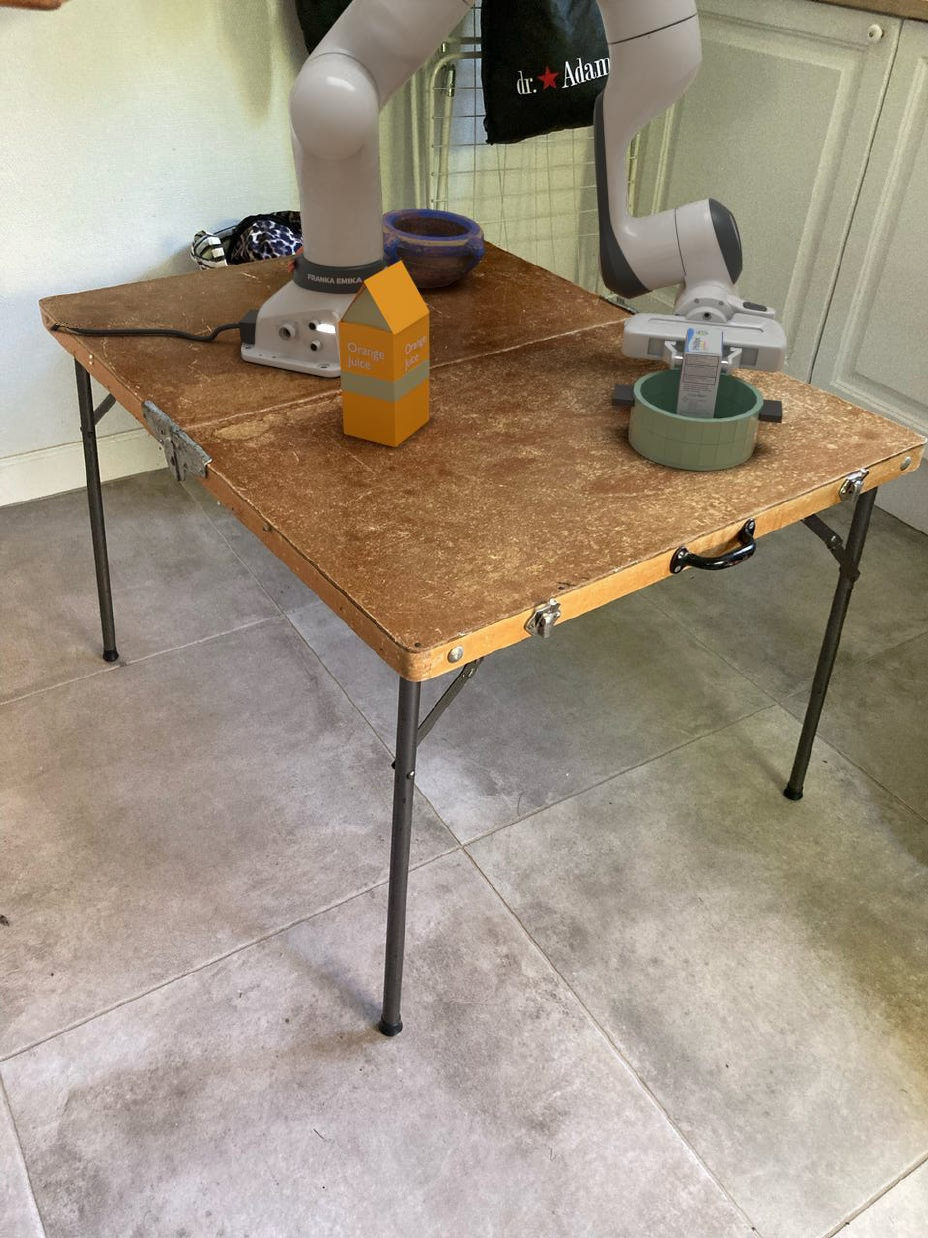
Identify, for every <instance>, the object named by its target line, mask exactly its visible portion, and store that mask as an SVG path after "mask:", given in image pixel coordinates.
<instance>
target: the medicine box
mask: <svg viewBox="0 0 928 1238" xmlns="http://www.w3.org/2000/svg"><path fill="white" fill-rule="evenodd" d="M722 353H723V331H721V330H713V329H703V328H689V329H688V330H687V335H686V341H685V348H684V357H683V363H682V371H681V377H680V385H679V395H678V406H677V414H676V415H681V416H685V417H692V418H701V419H713V414H714V407H715V401H716V395H717V388H718V382H719V375H720V369H721V363H722Z"/></svg>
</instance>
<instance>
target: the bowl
mask: <svg viewBox="0 0 928 1238" xmlns="http://www.w3.org/2000/svg"><path fill="white" fill-rule="evenodd" d="M484 242H485V233H484V230H483V228H482V227H481V226H480V225H479V223H478V222H476V221H475V220H473V219H471V218H469V217H468V216H466V215H462V214H458V213H454V212H451V211H446V210H441V209H431V208H403V209H391V210H388V211H387V212H384V213H383V248H384V252H385V253H386V255H387V266H388V267H390V266H392V265H393V264H395V263H397V262H399V261H402V263H403V264H404V266H405V268H406V270H407V272H408V273H409V275H410V277H411V279H412V281H413V282H414V284H415V286H416V288H417V289H418V288H419V289H434V288H441V287H445V286H448V285H451V284H452V283H454V281H456V280H457V279H459V278H461V277H463V276H465V275H467V274H469V273H470V272H472V271H473V270H474V269H475V268H476V267H477V266H478V264H480V263H481V261H482V260H483V258H484V256H485V253H486V248H485V245H484Z"/></svg>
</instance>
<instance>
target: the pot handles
mask: <svg viewBox="0 0 928 1238" xmlns="http://www.w3.org/2000/svg"><path fill="white" fill-rule="evenodd" d="M633 390H634V385H630V384H621V383H616V384H615V386H614V390H613V392H612V393H613V394H612V398H611V406H612V407H613V406H614V407H623V408H630V409H631V408H633V402H634V398H633ZM783 417H784V416H783V401H782V400H774V399H766V398H763V408H762V411H761V413H760V417H759V421H760V422H766V423H772V424H773V423H774V424H782V421H783Z"/></svg>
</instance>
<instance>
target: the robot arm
mask: <svg viewBox="0 0 928 1238" xmlns="http://www.w3.org/2000/svg"><path fill="white" fill-rule="evenodd" d="M477 1H478V0H352V1H351V2H350V3H349V4H348V6H347V7H346V9H344V11H343V12H342V13H341V14H340V16H339V17H338V19H337V20H336V21H335V22H334V23H333V25H332V27H331V28H330V29H329V30H328V32H327V33H326V34H325V35H324V37H323V38H322V39H321V40H320V42H319V43H318V44H317V46H316V47H315V48H314V50H313V51H312V52H311V53H310V55H308V58H307V59H306V60H305V62H304V63H303V64H302V66H301V69H300V71H299V73H298V74H297V76H296V78H295V80H294V82H293V84H292V86H291V89H290V91H289V95H288V99H287V113H288V123H289V131H290V132H289V134H290V142H291V149H292V157H293V163H294V164H293V165H294V171H295V176H296V177H295V179H296V184H297V190H298V197H299V198H298V199H299V211H300V225H301V226H300V227H301V228H300V229H301V240H302V241H301V242H302V245H301V246H300V248H298V249H297V250H296V252H295V255H293V257H291V258H290V262H289V263H288V264H287V268H288V269H287V274H291V277H292V279H291V280H290V281H288V282H287V283H286V284H285V285H283V286H282V287H281V288H280V289H278V290H277V291H275V293H273V294H272V295H271V296H270V297H269V298H268V299H267V300H266V301H264V302H263V304H262V305H261V306H260V308H259V309H255V308H254V309H252V308H250V309H249V310H248V311H247V312H246V313H245V315H243V316H242V318H241V319H240V320H239V321H238V322H236V323H227V324H222V325H220V326H218V327H216V328H214V330H213V331H212V332H211V334H210V335H206V336H199V335H195V334H191V333H189V332H186V331H182V330H177V329H168V328H167V329H166V328H116V329H115V328H113V329H109V328H107V329H96V328H95V329H93V328H91V329H90V328H82V327H79V328H81V329H79V328H69V327H65V326H60V325H56V324H57V323H58V322H55V323H54V324H53V325H52V326H51V328H50V329H49V330H50V331H51V332H53V331H54V332H55V331H57V330H58V329H59V328H65V329H68V330H70V331H73V332H75V333H78V334H81V335H91V336H113V335H116V336H117V335H167V336H168V335H169V336H177V337H181V338H184V339H188V340H191V341H194V342H201V343H207V342H211V341H214V340H215V339H216V338H217V337H218V335H219V334H220V333H222V332H224V331H228V330H237V329H239V338H240V343H242V344H241V347H240V357H241V358H242V360H243V361H245V362H250V363H254V364H259V365H264V366H269V367H274V368H279V369H284V370H289V371H294V372H299V373H304V374H310V375H315V376H319V377H324V378H336V377H341V375H340V370H341V367H340V348H339V329H338V322H339V321H340V320H341V318H342V317H343V315H344V314H345V312H346V311H347V309H348V307H349V306H350V304H351V303H352V301H353V300H354V298H355V296H356V295H357V293H358V292H359V290H360V289H361V287H362V285H363V284H364V281H365V280H366V279H368V278H370V277H372V276H374V275H375V274H377V273H379V272H381V271H383V270H384V269H386V268H388V266H387V255H386V253H385V252H384V248H383V215H384V213H383V191H382V176H381V174H382V173H381V152H380V150H381V149H380V127H379V126H380V125H379V123H380V122H379V118H380V115H381V113H382V112H383V110H384V109H385V107H386V106H388V104H389V103H390V102H391V101H392V99H393V98H395V96H396V95H397V94H398V93H399V92H400V90H401V89H403V87H404V86H405V85H406V84H407V83H408V82H409V81H410V80H411V78H413V76H414V75H415V74H416V73H417V72H418V71H419V70H421V68H422V67H423V66H424V65H425V64H427V62H428V61H430V59H431V58H432V57H433V55H434V54H435V53H436V52H437V51H438V49H439V48H440V47H441V45H442V44H444V42H445V41H446V40H447V38H448V37H449V36H450V35H451V34H452V32H453V31H454V29H456V27H457V26H458V24H459V23H461V21H462V19H463V18H464V17H465V16H466V14H468V12H469V11H470V9H471V8H472V7H473V6H474V5H475V3H477ZM595 2H596V4H597V7H598V10H599V12H600V15H601V20H602V24H603V28H604V34H605V39H606V43H607V48H608V55H609V68H608V75H607V80H606V83H605V87H604V88H603V89H602V90H601V92H599V94H598V95H597V96H596V98H595V101H594V102H595V103H594V108H593V118H592V119H593V123H592V124H593V127H592V128H593V129H592V130H593V153H594V155H593V156H594V166H595V167H594V171H595V184H596V185H595V187H596V199H597V201H596V202H597V216H598V217H597V218H598V239H599V240H598V250H597V264H598V271H599V275H600V277H601V279H602V282H603V285H604V287H605V288H606V289H607V290H609V291H610V292H612V293H614V295H617V296H619V297H621V298H624V299H626V300H632V299H635V298H638V297H641V296H644V295H647V294H650V293H653V292H654V291H656V290H660V289H664V288H668V287H672V286H677V285H678V286H677V290H676V293H675V298H674V301H673V310H672V313H671V314H664V313H653V312H638V313H635V314H633V315H631V317H630V318H627V319H625V321H624V323H623V326H622V329H623V332H622V339H621V350H620V351H621V354H623V355H624V356H625V357H627V358H631V359H642V360H651V361H661V362H664V363H666V364H668V365H669V369H670V370H681V371H682V363H683V357H684V348H685V341H686V335H687V330H688V329H689V328H703V329H713V330H721V331H723V353H722V363H721V369H720V375H727V376H730V375H731V373H732V372H733V371H735V370H738V369H740V370H749V371H756V372H757V371H759V372H768V373H776V372H777V373H778V372H779V371H781V370H782V369H783V368H784V367H783V366H784V363H785V359H786V355H787V347H788V341H787V336H786V333H785V330H784V328H783V325H781V323H779V322H778V321H777V320H776V318H777V317H776V316H777V311H776V310H775V308H772V307H770V306H765V305H761V304H758V303H754V302H750V301H747V300H744V299H741V297H740V289H739V285H738V280H739V278H740V276H741V274H742V271H743V269H744V268H743V260H744V259H743V247H742V241H741V236H740V231H739V227H738V223H737V221H736V217H735V216H734V214H733V213H732V211H731V210H729V209H728V208H727V207H726V206H725V205H724V204H723V203H722V202H719V201H718V200H717V199H715V198H711V197H710V198H706V199H702V200H698V201H694V202H690V203H686V204H682V205H679V206H676V207H674V208H671V209H666V210H663V211H659V212H656V213H651V214H648V215H644V216H641V217H635V216H632V215H631V213H630V203H629V201H630V200H629V183H628V162H627V161H628V160H627V159H628V157H627V155H628V150H629V147H630V145H631V143H632V141H633V140H634V138H635V137H636V136H637V134H638V133H640V131H642V130H643V129H644V128H645V127H647V125H649V124H650V123H651V122H652V121H653V120H655V119H656V118H658V117H659V116H660V115H661V114H662V113H664V112H665V111H667V110H668V109H669V108H670V107H672V106H673V105H674V104H676V102H677V101H678V100H680V98H682V97H683V96H684V94H685V93H686V92H687V91H688V90H689V89H690V87H691V85H693V83H694V81H695V79H696V78H697V76H698V73H699V72H700V68H701V64H702V61H703V48H702V47H703V45H702V33H701V27H700V19H699V14H698V8H697V4H696V0H595ZM63 322H64V323H65V322H66V321H63ZM68 323H69V322H66V324H68Z"/></svg>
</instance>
